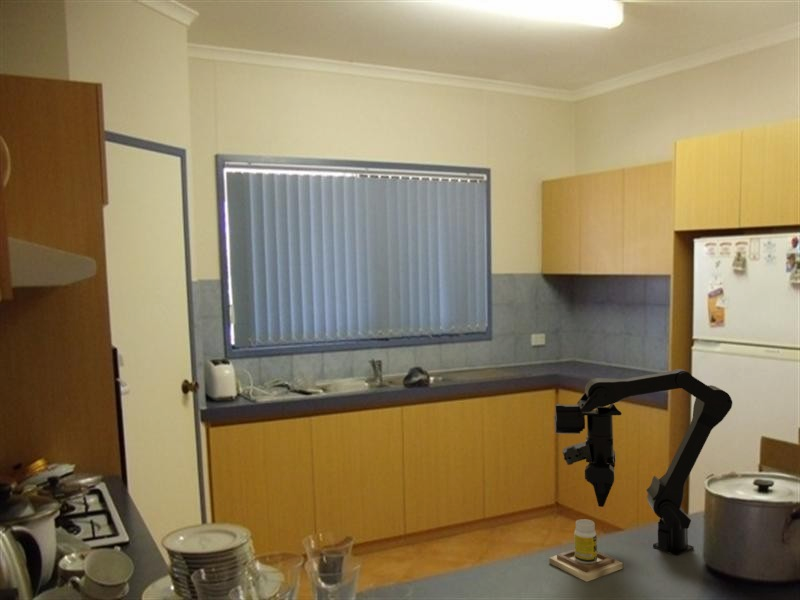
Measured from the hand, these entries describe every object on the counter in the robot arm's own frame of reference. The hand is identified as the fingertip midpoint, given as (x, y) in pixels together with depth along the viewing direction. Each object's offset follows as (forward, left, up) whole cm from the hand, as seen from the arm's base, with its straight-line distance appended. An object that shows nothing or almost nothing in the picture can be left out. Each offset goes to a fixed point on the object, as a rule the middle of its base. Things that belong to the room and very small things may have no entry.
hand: (601, 499), depth 152 cm
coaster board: (+11, +5, -11) cm, 16 cm away
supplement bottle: (+11, +5, -10) cm, 16 cm away
